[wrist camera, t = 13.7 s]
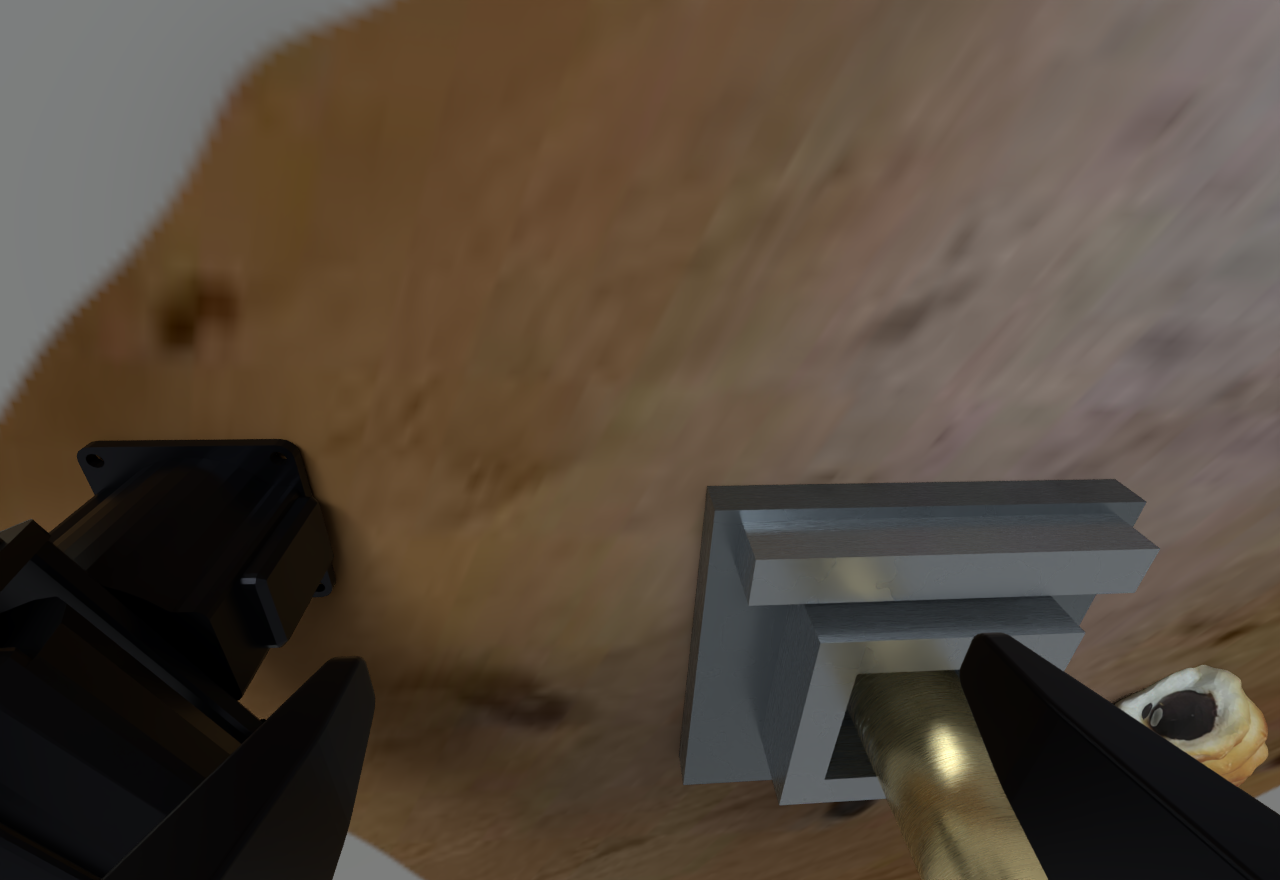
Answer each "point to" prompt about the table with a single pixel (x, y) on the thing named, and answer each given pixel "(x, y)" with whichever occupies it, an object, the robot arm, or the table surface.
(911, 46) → the table surface
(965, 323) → the table surface
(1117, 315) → the table surface
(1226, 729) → the pastry
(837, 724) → the jig
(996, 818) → the sleeve
